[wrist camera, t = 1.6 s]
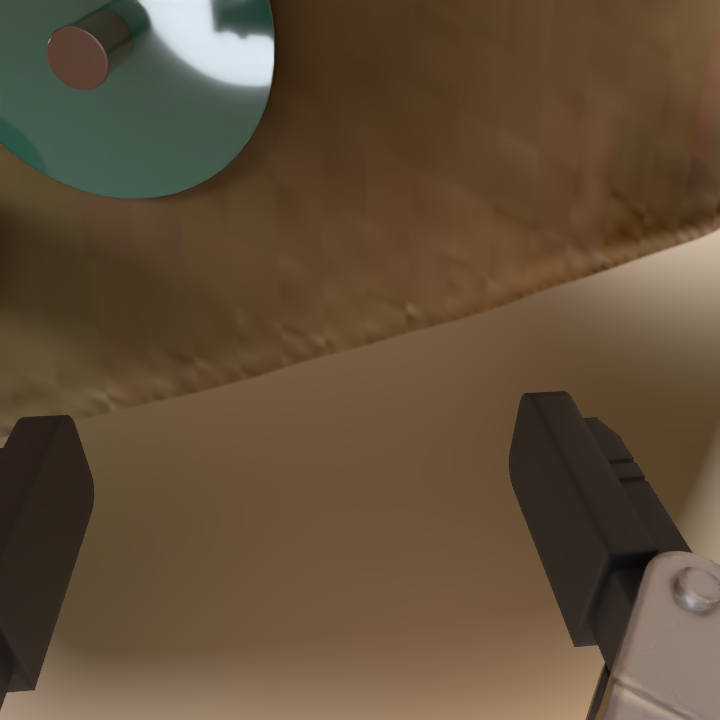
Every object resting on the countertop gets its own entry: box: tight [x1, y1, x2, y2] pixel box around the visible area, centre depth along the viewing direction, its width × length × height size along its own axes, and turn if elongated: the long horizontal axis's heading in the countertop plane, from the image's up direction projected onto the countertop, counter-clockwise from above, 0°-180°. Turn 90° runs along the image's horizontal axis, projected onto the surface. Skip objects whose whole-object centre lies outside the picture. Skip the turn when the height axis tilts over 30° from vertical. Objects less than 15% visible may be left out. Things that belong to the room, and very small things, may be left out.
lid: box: [0, 0, 275, 199], centre depth 28 cm, size 16×16×6 cm
